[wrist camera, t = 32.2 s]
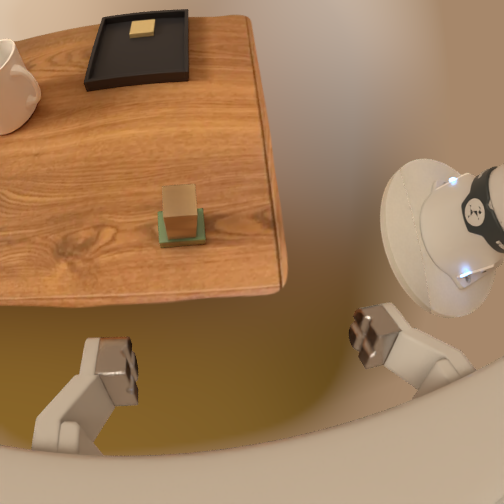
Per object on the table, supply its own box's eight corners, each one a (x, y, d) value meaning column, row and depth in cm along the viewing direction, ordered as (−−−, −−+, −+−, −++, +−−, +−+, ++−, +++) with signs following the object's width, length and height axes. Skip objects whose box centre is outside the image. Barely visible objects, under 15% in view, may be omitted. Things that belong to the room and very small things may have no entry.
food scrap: (155, 23, 43) (155, 19, 42) (153, 36, 42) (153, 31, 41) (132, 25, 42) (132, 21, 41) (129, 38, 41) (129, 34, 40)
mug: (-2, 96, 36) (-28, 51, 25) (59, 79, 38) (39, 26, 27) (-16, 142, 34) (-52, 99, 23) (47, 126, 36) (18, 73, 25)
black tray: (187, 17, 45) (188, 9, 43) (188, 81, 42) (188, 71, 40) (103, 25, 42) (102, 17, 40) (86, 91, 38) (83, 82, 36)
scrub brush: (202, 214, 37) (206, 179, 29) (204, 244, 36) (209, 217, 28) (159, 217, 36) (150, 183, 28) (160, 248, 35) (151, 221, 27)
